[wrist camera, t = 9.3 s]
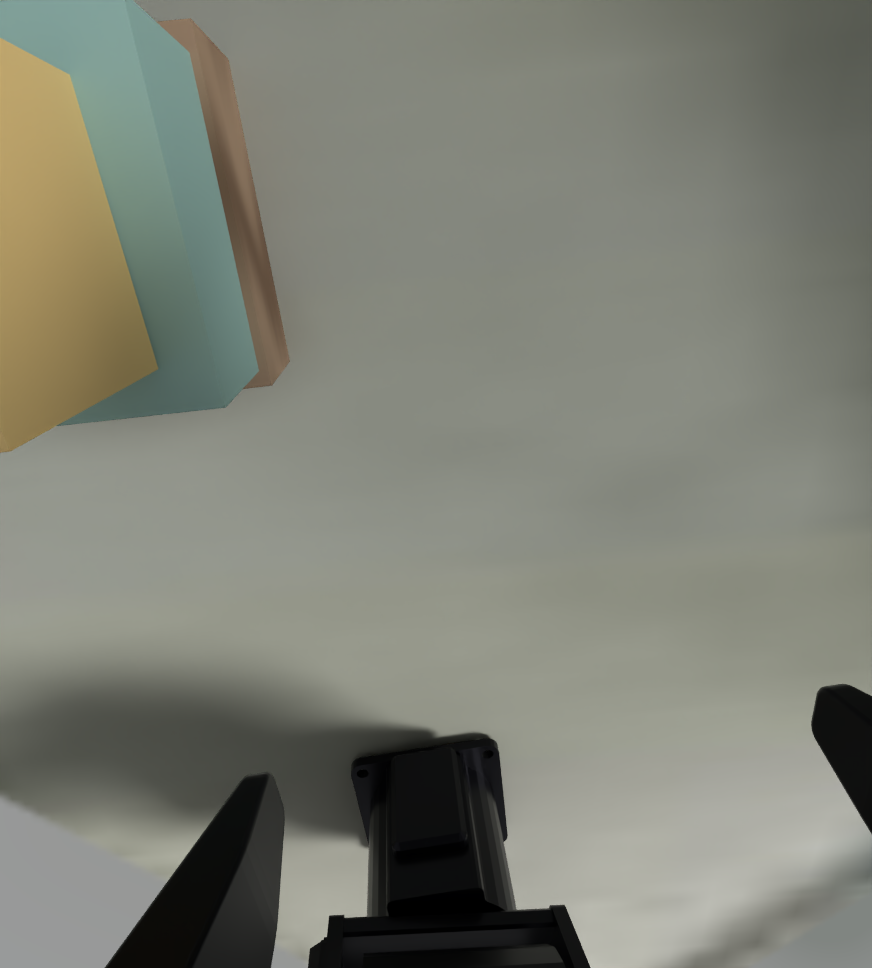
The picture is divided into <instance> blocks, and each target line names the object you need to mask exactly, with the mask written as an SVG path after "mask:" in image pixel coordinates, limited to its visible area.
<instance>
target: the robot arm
mask: <svg viewBox="0 0 872 968" xmlns="http://www.w3.org/2000/svg"><path fill="white" fill-rule="evenodd" d="M811 726H812V732H813V735H814V737H815V739H816V741H817V743H818V745H819V746H820V748H821V750H822V751H823V753H824V755H825V756H826V758H827V760H828V762H829V763H830V765H831V767H832V768H833V770H834V772H835V773H836V775H837V777H838V779H839V780H840V782H841V784H842V785H843V787H844V789H845V790H846V792H847V794H848V795H849V797H850V799H851V801H852V802H853V804H854V806H855V807H856V809H857V811H858V812H859V814H860V816H861V818H862V819H863V821H864V822H865V824H866V826H867V827H868V829H869V830H870V832H871V833H872V696H870V695H868V694H866V693H864V692H862V691H860V690H859V689H857V688H855V687H852V686H850V685H847V684H838V685H831V686H825V687H822V688H820V689H819V691H818V692H817V696H816V701H815V706H814V711H813V716H812V721H811ZM486 750H488V751H486ZM361 769H365V770H361ZM351 776H352V780H353V784H354V788H355V792H356V796H357V800H358V804H359V808H360V812H361V816H362V820H363V824H364V828H365V831H366V835H367V839H368V843H369V862H368V899H367V917H354V918H344V915H331V916H329V924H328V933H327V937H324V940H321V942H320V943H318V944H317V945H315V946H314V947H312V948H310V954H309V964H308V968H590V965H589V963H588V961H587V958H586V956H585V953H584V951H583V948H582V946H581V943H580V941H579V939H578V936H577V934H576V931H575V929H574V926H573V924H572V921H571V919H570V917H569V914H568V912H567V909H566V907H565V905H550V907H549V908H548V909H527V910H517V909H516V904H515V899H514V894H513V889H512V884H511V878H510V873H509V868H508V863H507V858H506V853H505V847H504V841H505V840H506V839H507V836H508V835H507V826H506V816H505V806H504V797H503V787H502V777H501V768H500V758H499V751H498V746H497V743H496V742H495V741H494V740H492V739H480V740H473V741H467V742H460V743H454V744H447V745H441V746H434V747H428V748H421V749H415V750H408V751H402V752H395V753H389V754H382V755H376V756H369V757H363V758H359V759H356V760H355V761H354V762H353V763H352V770H351ZM284 821H285V818H284V807H283V803H282V800H281V797H280V794H279V791H278V788H277V785H276V782H275V779H274V777H273V775H272V774H271V773H270V772H264V773H257V774H251V775H247V776H245V777H244V778H243V779H242V780H241V782H240V783H239V784H238V786H237V787H236V788H235V790H234V791H233V792H232V794H231V795H230V797H229V798H228V799H227V801H226V802H225V803H224V805H223V806H222V808H221V809H220V810H219V812H218V813H217V814H216V816H215V817H214V819H213V820H212V821H211V823H210V824H209V825H208V827H207V828H206V830H205V831H204V832H203V834H202V835H201V836H200V838H199V839H198V841H197V842H196V843H195V845H194V846H193V847H192V849H191V850H190V852H189V853H188V854H187V856H186V857H185V858H184V860H183V861H182V863H181V864H180V865H179V867H178V868H177V869H176V871H175V872H174V873H173V875H172V876H171V878H170V879H169V880H168V882H167V883H166V884H165V886H164V887H163V889H162V890H161V891H160V893H159V894H158V895H157V897H156V898H155V900H154V901H153V902H152V904H151V905H150V907H149V908H148V909H147V911H146V912H145V913H144V915H143V916H142V917H141V919H140V920H139V922H138V923H137V924H136V926H135V927H134V928H133V930H132V931H131V933H130V934H129V935H128V937H127V938H126V940H125V941H124V942H123V944H122V945H121V946H120V948H119V949H118V950H117V952H116V953H115V954H114V956H113V957H112V959H111V960H110V961H109V963H108V964H107V965H106V967H105V968H271V962H272V957H273V951H274V945H275V938H276V931H277V921H278V909H279V895H280V880H281V866H282V851H283V836H284Z"/></svg>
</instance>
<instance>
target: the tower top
mask: <svg viewBox="0 0 872 968" xmlns="http://www.w3.org/2000/svg"><path fill="white" fill-rule="evenodd" d="M0 38H2V39H4V40H5V41H7V42H9V43H11V44H13V45H15V46H17V47H19V48H20V49H22V50H24V51H26V52H28V53H30V54H32V55H34V56H35V57H37V58H39V59H41V60H43V61H45V62H47V63H49V64H50V65H52V66H54V67H56V68H58V69H60V70H62V71H64V72H66V73H67V74H69V75H70V77H71V81H72V84H73V87H74V91H75V94H76V97H77V100H78V104H79V107H80V110H81V114H82V117H83V120H84V124H85V127H86V130H87V134H88V137H89V140H90V144H91V147H92V150H93V154H94V157H95V160H96V163H97V167H98V170H99V173H100V177H101V180H102V183H103V187H104V190H105V193H106V197H107V200H108V203H109V207H110V210H111V213H112V217H113V220H114V223H115V226H116V230H117V233H118V236H119V240H120V243H121V246H122V250H123V253H124V256H125V260H126V263H127V266H128V270H129V273H130V276H131V280H132V283H133V286H134V289H135V293H136V296H137V299H138V303H139V306H140V309H141V313H142V316H143V319H144V323H145V326H146V329H147V333H148V336H149V339H150V343H151V346H152V349H153V352H154V356H155V359H156V362H157V366H158V370H156V371H154V372H152V373H151V374H149V375H147V376H145V377H143V378H142V379H140V380H138V381H136V382H134V383H133V384H131V385H129V386H127V387H125V388H124V389H122V390H120V391H118V392H116V393H115V394H113V395H111V396H109V397H107V398H106V399H104V400H102V401H100V402H98V403H96V404H95V405H93V406H91V407H89V408H87V409H86V410H84V411H82V412H80V413H78V414H77V415H75V416H73V417H71V418H69V419H68V420H66V421H64V422H62V423H60V424H59V425H57V426H61V425H71V424H80V423H89V422H98V421H107V420H116V419H125V418H134V417H143V416H153V415H162V414H171V413H180V412H189V411H198V410H207V409H216V408H225V407H226V406H227V405H228V404H229V403H230V402H231V401H232V400H233V399H234V398H235V397H236V396H237V394H238V393H239V392H240V391H241V390H242V389H243V388H244V387H245V386H246V385H247V384H248V383H249V381H250V380H251V379H252V378H253V377H254V376H255V375H256V374H257V373H258V372H259V369H258V364H257V360H256V355H255V350H254V346H253V341H252V337H251V332H250V328H249V323H248V318H247V314H246V309H245V305H244V300H243V295H242V291H241V286H240V282H239V277H238V273H237V268H236V263H235V259H234V254H233V250H232V245H231V241H230V236H229V231H228V227H227V222H226V218H225V213H224V208H223V204H222V199H221V195H220V190H219V186H218V181H217V176H216V172H215V167H214V163H213V158H212V154H211V149H210V144H209V140H208V135H207V131H206V126H205V121H204V117H203V112H202V108H201V103H200V99H199V94H198V89H197V85H196V80H195V76H194V71H193V67H192V62H191V57H190V53H189V51H187V50H186V49H185V48H184V47H183V46H182V45H181V44H180V43H179V42H178V41H177V40H175V39H174V38H173V37H172V36H171V35H170V34H169V33H168V32H167V31H166V30H165V29H163V28H162V27H161V26H160V25H159V24H158V23H157V22H156V21H155V20H154V19H153V18H151V17H150V16H149V15H148V14H147V13H146V12H145V11H144V10H143V9H142V8H141V7H139V6H138V5H137V4H136V3H135V2H134V1H133V0H3V1H0Z"/></svg>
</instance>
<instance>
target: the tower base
mask: <svg viewBox="0 0 872 968" xmlns="http://www.w3.org/2000/svg"><path fill="white" fill-rule="evenodd" d="M157 23H158V24H159V25H160V26H161V27H162V28H163V29H165V30H166V31H167V32H168V33H169V34H170V35H171V36H172V37H173V38H174V39H175V40H177V41H178V42H179V43H180V44H181V45H182V46H183V47H184V48H185V49H186V50H187V51H189V53H190V57H191V62H192V67H193V71H194V76H195V80H196V85H197V89H198V94H199V99H200V103H201V108H202V112H203V117H204V121H205V126H206V131H207V135H208V140H209V144H210V149H211V154H212V158H213V163H214V167H215V172H216V176H217V181H218V186H219V190H220V195H221V199H222V204H223V208H224V213H225V218H226V222H227V227H228V231H229V236H230V241H231V245H232V250H233V254H234V259H235V263H236V268H237V273H238V277H239V282H240V286H241V291H242V295H243V300H244V305H245V309H246V314H247V318H248V323H249V328H250V332H251V337H252V341H253V346H254V350H255V355H256V360H257V364H258V369H259V372H258V373H257V374H256V375H255V376H254V377H253V378H252V379H251V380H250V381H249V383H248V384H247V385H246V386H245V387H244V388H243V389H246V388H255V387H263V386H272V385H273V383H274V382H275V381H276V379H277V378H278V376H279V375H280V374H281V372H282V371H283V370H284V368H285V367H286V366H287V364H288V363H289V362H290V360H289V355H288V350H287V345H286V340H285V335H284V331H283V326H282V321H281V316H280V311H279V306H278V301H277V296H276V291H275V286H274V281H273V277H272V272H271V267H270V262H269V257H268V252H267V247H266V242H265V237H264V232H263V227H262V223H261V218H260V213H259V208H258V203H257V198H256V193H255V188H254V183H253V178H252V173H251V168H250V164H249V159H248V154H247V149H246V144H245V139H244V134H243V129H242V124H241V119H240V114H239V110H238V105H237V100H236V95H235V90H234V85H233V80H232V75H231V70H230V65H229V60H228V58H227V57H226V56H225V55H224V54H223V53H222V52H221V51H220V50H219V49H218V48H217V46H216V45H215V44H214V43H213V42H212V41H211V40H210V39H209V38H208V37H207V36H206V34H205V33H204V32H203V31H202V30H201V29H200V28H199V27H198V26H197V25H196V24H195V23H194V21H193V20H192V19H191V18H190V19H180V20H170V21H159V22H157Z"/></svg>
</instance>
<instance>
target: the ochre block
mask: <svg viewBox="0 0 872 968" xmlns="http://www.w3.org/2000/svg"><path fill="white" fill-rule="evenodd" d="M156 370H158V366H157V362H156V359H155V356H154V352H153V349H152V346H151V343H150V339H149V336H148V333H147V329H146V326H145V323H144V319H143V316H142V313H141V309H140V306H139V303H138V299H137V296H136V293H135V289H134V286H133V283H132V280H131V276H130V273H129V270H128V266H127V263H126V260H125V256H124V253H123V250H122V246H121V243H120V240H119V236H118V233H117V230H116V226H115V223H114V220H113V217H112V213H111V210H110V207H109V203H108V200H107V197H106V193H105V190H104V187H103V183H102V180H101V177H100V173H99V170H98V167H97V163H96V160H95V157H94V154H93V150H92V147H91V144H90V140H89V137H88V134H87V130H86V127H85V124H84V120H83V117H82V114H81V110H80V107H79V104H78V100H77V97H76V94H75V91H74V87H73V84H72V81H71V77H70V75H69V74H67V73H66V72H64V71H62V70H60V69H58V68H56V67H54V66H52V65H50V64H49V63H47V62H45V61H43V60H41V59H39V58H37V57H35V56H34V55H32V54H30V53H28V52H26V51H24V50H22V49H20V48H19V47H17V46H15V45H13V44H11V43H9V42H7V41H5V40H4V39H2V38H0V453H1V452H8V451H12V450H14V449H15V448H17V447H19V446H21V445H23V444H24V443H26V442H28V441H30V440H32V439H33V438H35V437H37V436H39V435H41V434H42V433H44V432H46V431H48V430H50V429H51V428H53V427H55V426H57V425H59V424H60V423H62V422H64V421H66V420H68V419H69V418H71V417H73V416H75V415H77V414H78V413H80V412H82V411H84V410H86V409H87V408H89V407H91V406H93V405H95V404H96V403H98V402H100V401H102V400H104V399H106V398H107V397H109V396H111V395H113V394H115V393H116V392H118V391H120V390H122V389H124V388H125V387H127V386H129V385H131V384H133V383H134V382H136V381H138V380H140V379H142V378H143V377H145V376H147V375H149V374H151V373H152V372H154V371H156Z"/></svg>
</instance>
